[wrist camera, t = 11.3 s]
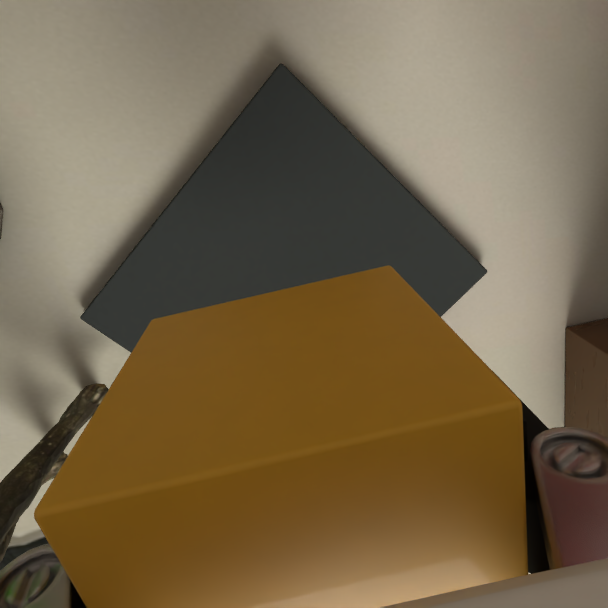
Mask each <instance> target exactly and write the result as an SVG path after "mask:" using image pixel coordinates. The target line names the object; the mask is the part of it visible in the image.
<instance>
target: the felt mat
mask: <svg viewBox="0 0 608 608" xmlns="http://www.w3.org/2000/svg"><path fill="white" fill-rule="evenodd" d="M383 266H391V267H392V268H393V269H394V270H395V271H396V272H397V273H398V274H399V275H400V276H401V277H402V278H403V279H404V280H405V281H406V282H407V283H408V284H409V285H410V286H411V287H412V288H413V289H414V290H415V291H416V292H417V293H418V295H419V296H420V297H421V298H422V299H423V300H424V301H425V302H426V303H427V304H428V305H429V306H430V307H431V308H432V309H433V310H434V311H435V312H436V313H437V314H438V315H439V316H440V317H441V316H442V315H443V314H444V313H445V312H446V311H447V310H448V309H450V308H451V307H452V306H453V305H454V304H455V303H456V302H457V301H458V300H459V299H460V298H461V297H462V296H463V295H464V294H465V293H466V292H467V291H468V290H469V289H470V288H471V287H472V286H473V285H474V284H475V283H477V282H478V281H479V280H480V279H481V278H482V277H483V276H484V275H485V274H486V273H487V270H486V269H485V268H484V267H483V266H482V265H481V264H480V263H479V262H478V261H477V260H476V259H475V258H474V257H473V256H472V255H471V254H470V253H469V252H468V251H467V250H466V249H465V248H464V247H463V246H462V245H461V244H460V243H459V242H458V241H457V240H456V239H455V238H454V237H453V236H452V235H451V233H450V232H449V231H448V230H447V229H446V228H445V227H444V226H443V225H442V224H441V223H440V222H439V221H438V220H437V219H436V218H435V217H434V216H433V215H432V214H431V213H430V212H429V211H428V210H427V209H426V208H425V207H424V206H423V205H422V204H421V203H420V202H419V201H418V200H417V199H416V198H415V197H414V196H413V195H412V194H411V193H410V192H409V191H408V190H407V189H406V188H405V187H404V186H403V185H402V184H401V183H400V182H399V181H398V180H397V179H396V178H395V177H394V176H393V175H392V174H391V173H390V172H389V171H388V170H387V169H386V168H385V167H384V166H383V165H382V164H381V163H380V162H379V161H378V160H377V159H376V158H375V157H374V156H373V155H372V154H371V153H370V152H369V151H368V150H367V149H366V148H365V147H364V146H363V145H362V144H361V143H360V142H359V141H358V140H357V139H356V138H355V137H354V136H353V135H352V133H351V132H350V131H349V130H348V129H347V128H346V127H345V126H344V125H343V124H342V123H341V122H340V121H339V120H338V119H337V118H336V117H335V116H334V115H333V114H332V113H331V112H330V111H329V110H328V109H327V108H326V107H325V106H324V105H323V104H322V103H321V102H320V101H319V100H318V99H317V98H316V97H315V96H314V95H313V94H312V93H311V92H310V91H309V90H308V89H307V88H306V87H305V86H304V85H303V84H302V83H301V82H300V81H299V80H298V79H297V78H296V77H295V76H294V75H293V74H292V73H291V72H290V71H289V70H288V69H287V68H286V67H285V66H284V65H283V64H282V63H281V64H279V66H278V67H277V68H276V69H275V71H274V72H273V73H272V75H271V76H270V77H269V78H268V80H267V81H266V82H265V83H264V85H263V86H262V87H261V88H260V90H259V91H258V92H257V94H256V95H255V96H254V97H253V99H252V100H251V101H250V102H249V104H248V105H247V106H246V107H245V109H244V110H243V111H242V113H241V114H240V115H239V116H238V118H237V119H236V120H235V121H234V123H233V124H232V125H231V126H230V128H229V129H228V130H227V132H226V133H225V134H224V135H223V137H222V138H221V139H220V140H219V142H218V143H217V144H216V145H215V147H214V148H213V149H212V151H211V152H210V153H209V154H208V156H207V157H206V158H205V159H204V161H203V162H202V163H201V164H200V166H199V167H198V168H197V170H196V171H195V172H194V173H193V175H192V176H191V177H190V178H189V180H188V181H187V182H186V183H185V185H184V186H183V187H182V189H181V190H180V191H179V192H178V194H177V195H176V196H175V197H174V199H173V200H172V201H171V202H170V204H169V205H168V206H167V208H166V209H165V210H164V211H163V213H162V214H161V215H160V216H159V218H158V219H157V220H156V221H155V223H154V224H153V225H152V227H151V228H150V229H149V230H148V232H147V233H146V234H145V235H144V237H143V238H142V239H141V240H140V242H139V243H138V244H137V246H136V247H135V248H134V249H133V251H132V252H131V253H130V254H129V256H128V257H127V258H126V259H125V261H124V262H123V263H122V265H121V266H120V267H119V268H118V270H117V271H116V272H115V273H114V275H113V276H112V277H111V278H110V280H109V281H108V282H107V284H106V285H105V286H104V287H103V289H102V290H101V291H100V292H99V294H98V295H97V296H96V297H95V299H94V300H93V301H92V303H91V304H90V305H89V306H88V308H87V309H86V310H85V311H84V313H83V314H82V315H81V316H80V318H81V319H82V320H83V321H85V322H86V323H88V324H89V325H91V326H92V327H94V328H95V329H97V330H98V331H100V332H101V333H103V334H104V335H106V336H107V337H109V338H110V339H112V340H113V341H115V342H116V343H118V344H119V345H121V346H122V347H124V348H125V349H127V350H128V351H130V352H131V353H132V351H133V349H134V348H135V346H136V345H137V343H138V341H139V340H140V338H141V336H142V335H143V333H144V331H145V330H146V328H147V327H148V325H149V323H150V322H151V320H153V319H156V318H161V317H165V316H169V315H174V314H178V313H182V312H187V311H191V310H196V309H200V308H204V307H209V306H213V305H217V304H222V303H226V302H230V301H235V300H239V299H244V298H248V297H252V296H257V295H261V294H265V293H270V292H274V291H279V290H283V289H287V288H292V287H296V286H300V285H305V284H309V283H314V282H318V281H322V280H327V279H331V278H335V277H340V276H344V275H348V274H353V273H357V272H362V271H366V270H370V269H375V268H379V267H383Z"/></svg>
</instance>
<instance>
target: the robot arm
mask: <svg viewBox="0 0 608 608" xmlns="http://www.w3.org/2000/svg"><path fill="white" fill-rule="evenodd" d="M498 378H499V377H498ZM499 379H500V378H499ZM500 380H501V379H500ZM501 381H502V380H501ZM502 382H503V381H502ZM503 383H504V382H503ZM504 384H505V383H504ZM505 385H506V384H505ZM506 386H507V385H506ZM507 387H508V386H507ZM508 388H509V387H508ZM509 389H510V388H509ZM510 390H511V389H510ZM520 401H521V400H520ZM521 403H522V411H523V440H524V469H525V498H526V526H527V555H528V572H529V573H531V574H529V575H524V576H519V577H515V578H510V579H506V580H501V581H497V582H493V583H488V584H484V585H479V586H475V587H470V588H466V589H461V590H457V591H452V592H448V593H443V594H439V595H434V596H430V597H425V598H421V599H416V600H412V601H407V602H403V603H399V604H394V605H390V606H385V607H381V608H608V438H607V437H605V436H603V435H601V434H599V433H597V432H593V431H590V430H586V429H583V428H575V427H557V428H552V429H548V428H547V427H546V426H545V425H544V424H543V423H542V422H541V421H540V420H539V419H538V417H537V416H536V415H535V414H534V413H533V412H532V411H531V410H530V409H529V408H528V407H527V406H526V405H525V404H524V403H523V402H522V401H521ZM0 608H87V607H86V605H85V604H84V602H83V600H82V599H81V597H80V595H79V594H78V592H77V590H76V588H75V587H74V585H73V583H72V582H71V580H70V578H69V576H68V575H67V573H66V571H65V570H64V568H63V566H62V564H61V563H60V561H59V559H58V558H57V556H56V554H55V552H54V551H53V549H52V547H51V546H50V544H47V545H42V546H39V547H36V548H34V549H31V550H29V551H27V552H26V553H24V554H22V555H21V556H19V557H17V558H16V559H14V560H13V561H12V562H11V563H9V564H8V565H7V566H6V567H4V568H3V569H2V570H1V571H0Z"/></svg>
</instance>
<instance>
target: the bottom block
mask: <svg viewBox="0 0 608 608" xmlns="http://www.w3.org/2000/svg"><path fill="white" fill-rule="evenodd" d="M565 427H575V428H583V429H586V430H590V431H593V432H597V433H599V434H601V435H603V436H605V437H607V438H608V318H606V319H602V320H597V321H593V322H589V323H584V324H580V325H575V326H571V327H567V328H566V380H565Z"/></svg>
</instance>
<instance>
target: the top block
mask: <svg viewBox="0 0 608 608" xmlns="http://www.w3.org/2000/svg"><path fill="white" fill-rule="evenodd" d="M34 517H35V520H36V522H37V523H38V525H39V527H40V528H41V530H42V532H43V534H44V535H45V537H46V539H47V540H48V542H49V544H50V546H51V547H52V549H53V551H54V552H55V554H56V556H57V558H58V559H59V561H60V563H61V564H62V566H63V568H64V570H65V571H66V573H67V575H68V576H69V578H70V580H71V582H72V583H73V585H74V587H75V588H76V590H77V592H78V594H79V595H80V597H81V599H82V600H83V602H84V604H85V605H86V607H87V608H381V607H385V606H390V605H394V604H399V603H403V602H407V601H412V600H416V599H421V598H425V597H430V596H434V595H439V594H443V593H448V592H452V591H457V590H461V589H466V588H470V587H475V586H479V585H484V584H488V583H493V582H497V581H501V580H506V579H510V578H515V577H519V576H524V575H528V555H527V526H526V498H525V469H524V440H523V411H522V403H521V401H520V399H519V398H518V397H517V396H516V395H515V394H514V393H513V392H512V391H511V390H510V389H509V388H508V387H507V386H506V385H505V384H504V383H503V382H502V381H501V380H500V379H499V378H498V376H497V375H496V374H495V373H494V372H493V371H492V370H491V369H490V368H489V367H488V366H487V365H486V364H485V363H484V362H483V361H482V360H481V359H480V358H479V357H478V356H477V355H476V354H475V353H474V352H473V351H472V350H471V348H470V347H469V346H468V345H467V344H466V343H465V342H464V341H463V340H462V339H461V338H460V337H459V336H458V335H457V334H456V333H455V332H454V331H453V330H452V329H451V328H450V327H449V326H448V325H447V324H446V323H445V321H444V320H443V319H442V318H441V317H440V316H439V315H438V314H437V313H436V312H435V311H434V310H433V309H432V308H431V307H430V306H429V305H428V304H427V303H426V302H425V301H424V300H423V299H422V298H421V297H420V296H419V295H418V293H417V292H416V291H415V290H414V289H413V288H412V287H411V286H410V285H409V284H408V283H407V282H406V281H405V280H404V279H403V278H402V277H401V276H400V275H399V274H398V273H397V272H396V271H395V270H394V269H393V268H392V267H391V266H383V267H379V268H375V269H370V270H366V271H362V272H357V273H353V274H348V275H344V276H340V277H335V278H331V279H327V280H322V281H318V282H314V283H309V284H305V285H300V286H296V287H292V288H287V289H283V290H279V291H274V292H270V293H265V294H261V295H257V296H252V297H248V298H244V299H239V300H235V301H230V302H226V303H222V304H217V305H213V306H209V307H204V308H200V309H196V310H191V311H187V312H182V313H178V314H174V315H169V316H165V317H161V318H156V319H153V320H151V322H150V323H149V325H148V327H147V328H146V330H145V331H144V333H143V335H142V336H141V338H140V340H139V341H138V343H137V345H136V346H135V348H134V349H133V351H132V353H131V354H130V356H129V358H128V359H127V361H126V362H125V364H124V366H123V367H122V369H121V371H120V372H119V374H118V375H117V377H116V379H115V380H114V382H113V384H112V385H111V387H110V389H109V390H108V392H107V393H106V395H105V397H104V398H103V400H102V402H101V403H100V405H99V406H98V408H97V410H96V411H95V413H94V415H93V416H92V418H91V419H90V421H89V423H88V424H87V426H86V428H85V429H84V431H83V432H82V434H81V436H80V437H79V439H78V441H77V442H76V444H75V446H74V447H73V449H72V450H71V452H70V454H69V455H68V457H67V459H66V460H65V462H64V463H63V465H62V467H61V468H60V470H59V472H58V473H57V475H56V476H55V478H54V480H53V481H52V483H51V485H50V486H49V488H48V490H47V491H46V493H45V494H44V496H43V498H42V499H41V501H40V503H39V504H38V506H37V507H36V509H35V512H34Z"/></svg>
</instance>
